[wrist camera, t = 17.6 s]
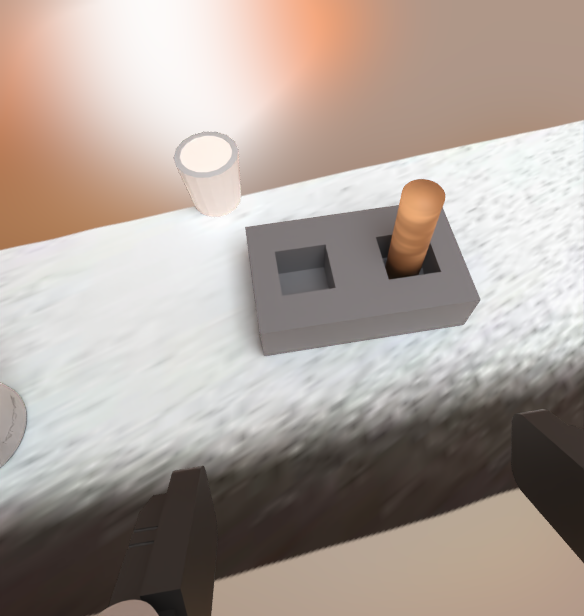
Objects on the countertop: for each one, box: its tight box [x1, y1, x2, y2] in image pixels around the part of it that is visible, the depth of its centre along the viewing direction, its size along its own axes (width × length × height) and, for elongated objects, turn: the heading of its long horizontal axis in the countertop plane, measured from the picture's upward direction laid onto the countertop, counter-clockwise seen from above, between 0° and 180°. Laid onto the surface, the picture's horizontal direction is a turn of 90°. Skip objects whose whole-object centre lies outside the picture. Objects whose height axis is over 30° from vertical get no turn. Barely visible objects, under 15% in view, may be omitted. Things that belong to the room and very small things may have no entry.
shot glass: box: [174, 132, 241, 217], centre depth 51 cm, size 7×7×7 cm
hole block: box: [245, 205, 480, 356], centre depth 45 cm, size 20×12×5 cm, turn 99°
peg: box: [385, 179, 445, 280], centre depth 41 cm, size 3×3×12 cm
